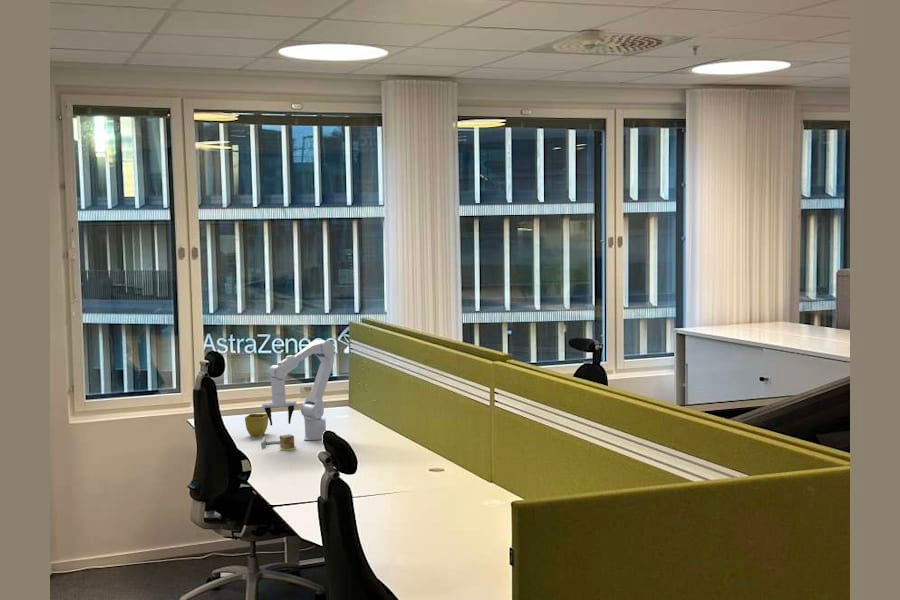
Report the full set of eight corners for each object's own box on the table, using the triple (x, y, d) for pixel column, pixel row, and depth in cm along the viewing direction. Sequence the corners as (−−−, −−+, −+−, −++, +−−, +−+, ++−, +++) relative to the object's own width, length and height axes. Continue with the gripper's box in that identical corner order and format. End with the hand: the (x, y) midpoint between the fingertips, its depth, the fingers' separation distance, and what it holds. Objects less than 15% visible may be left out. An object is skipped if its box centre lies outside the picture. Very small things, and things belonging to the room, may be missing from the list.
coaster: (295, 446, 395) (295, 445, 395) (294, 449, 389) (294, 448, 389) (281, 447, 394) (281, 446, 394) (280, 450, 388) (280, 449, 388)
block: (290, 445, 395) (289, 434, 395) (294, 447, 391) (293, 435, 391) (280, 447, 393) (279, 435, 392) (284, 449, 389) (284, 437, 388)
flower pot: (269, 432, 424) (268, 413, 424) (264, 437, 416) (263, 417, 415) (251, 432, 425) (250, 413, 424) (245, 437, 417) (244, 417, 416)
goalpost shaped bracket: (284, 441, 405) (284, 436, 405) (282, 446, 395) (282, 441, 395) (263, 442, 404) (263, 437, 404) (261, 448, 394) (261, 442, 394)
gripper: (295, 390, 401) (296, 420, 402) (261, 392, 398) (262, 423, 399) (296, 392, 394) (297, 424, 396) (261, 395, 391) (263, 427, 392)
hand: (280, 424), depth 397 cm, fingers open, 7 cm apart
